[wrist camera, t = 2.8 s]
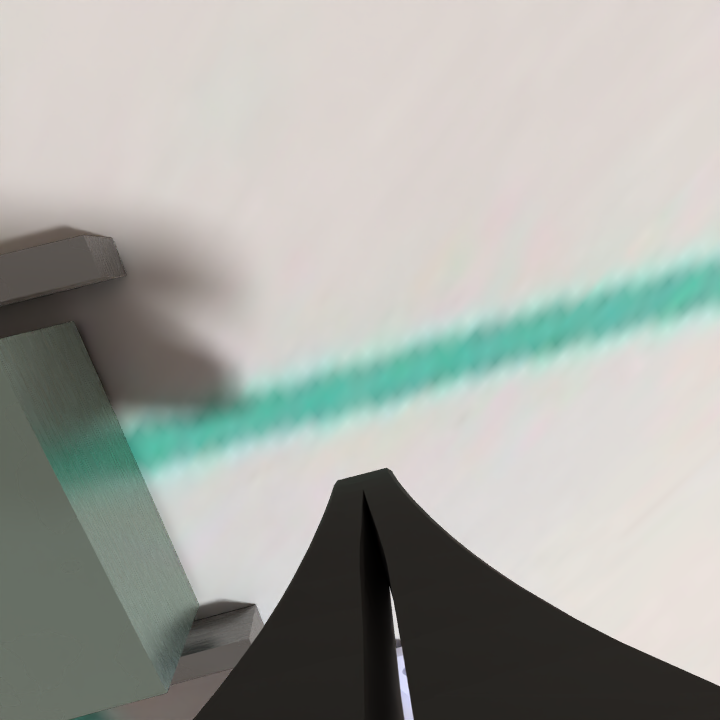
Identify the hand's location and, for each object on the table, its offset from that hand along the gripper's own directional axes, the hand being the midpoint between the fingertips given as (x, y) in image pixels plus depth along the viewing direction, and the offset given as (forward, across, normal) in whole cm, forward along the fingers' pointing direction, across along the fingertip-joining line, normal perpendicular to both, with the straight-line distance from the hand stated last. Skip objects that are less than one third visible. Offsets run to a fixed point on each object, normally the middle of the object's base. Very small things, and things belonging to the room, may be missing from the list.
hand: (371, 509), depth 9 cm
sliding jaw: (+5, +12, 0) cm, 14 cm away
